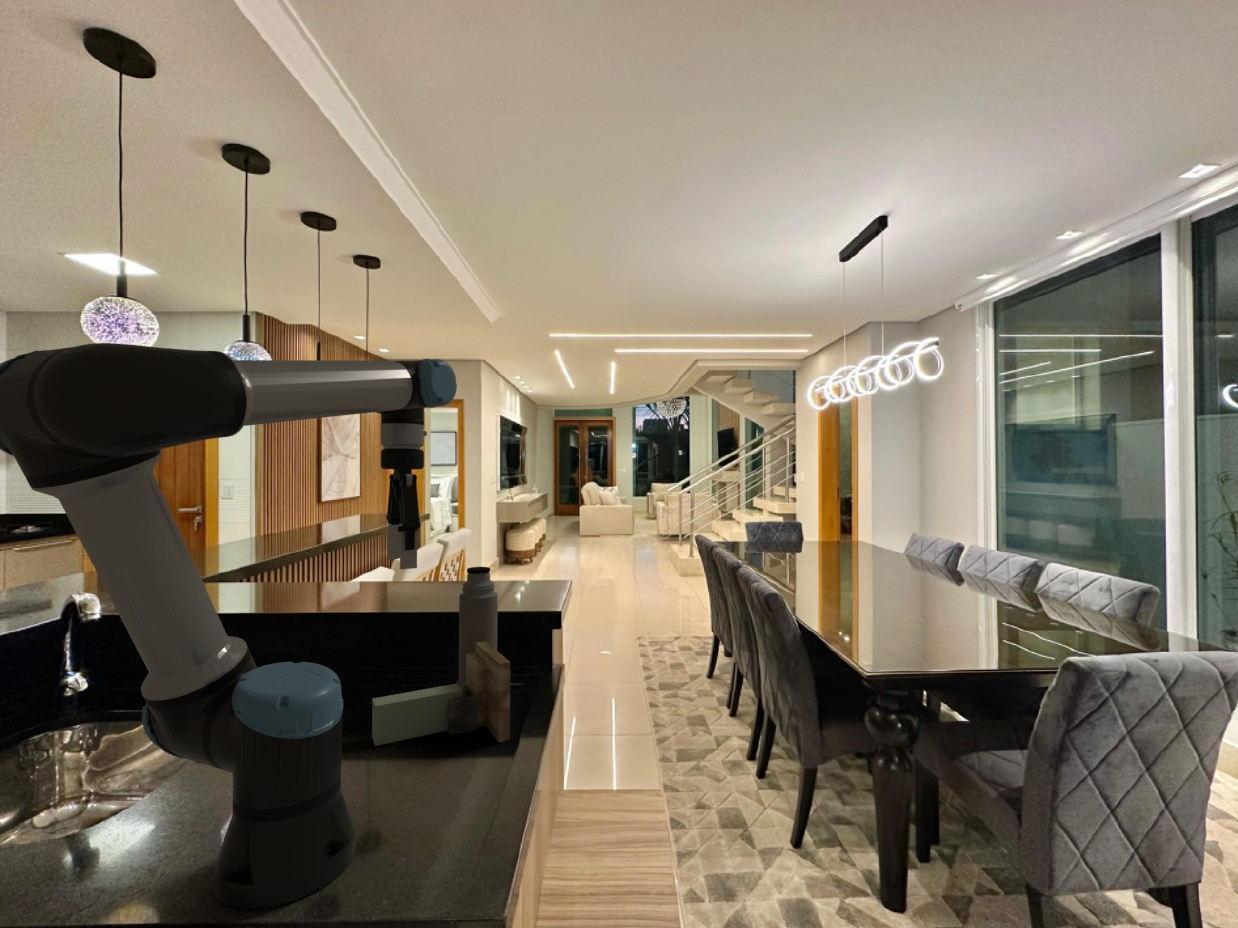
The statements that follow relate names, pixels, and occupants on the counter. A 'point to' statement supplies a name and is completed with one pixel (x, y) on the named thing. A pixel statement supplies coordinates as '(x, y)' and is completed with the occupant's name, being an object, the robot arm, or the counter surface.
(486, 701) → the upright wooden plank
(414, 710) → the rectangular block
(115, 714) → the counter surface
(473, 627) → the thermos bottle
